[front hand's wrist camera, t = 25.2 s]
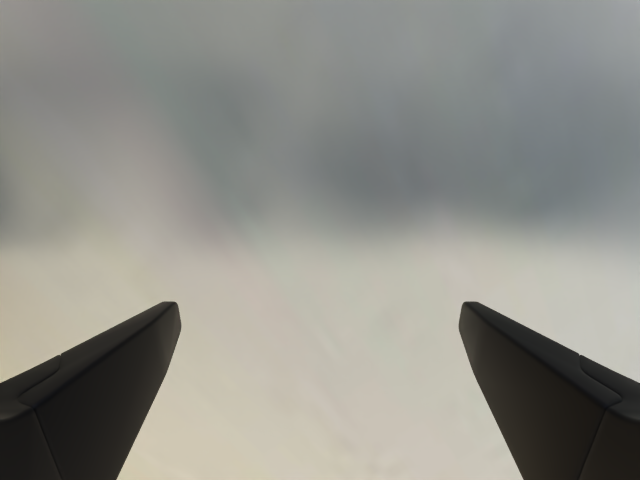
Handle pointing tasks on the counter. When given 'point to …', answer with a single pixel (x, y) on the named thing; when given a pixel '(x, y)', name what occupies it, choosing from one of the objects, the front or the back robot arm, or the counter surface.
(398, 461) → the counter surface
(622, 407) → the front robot arm
